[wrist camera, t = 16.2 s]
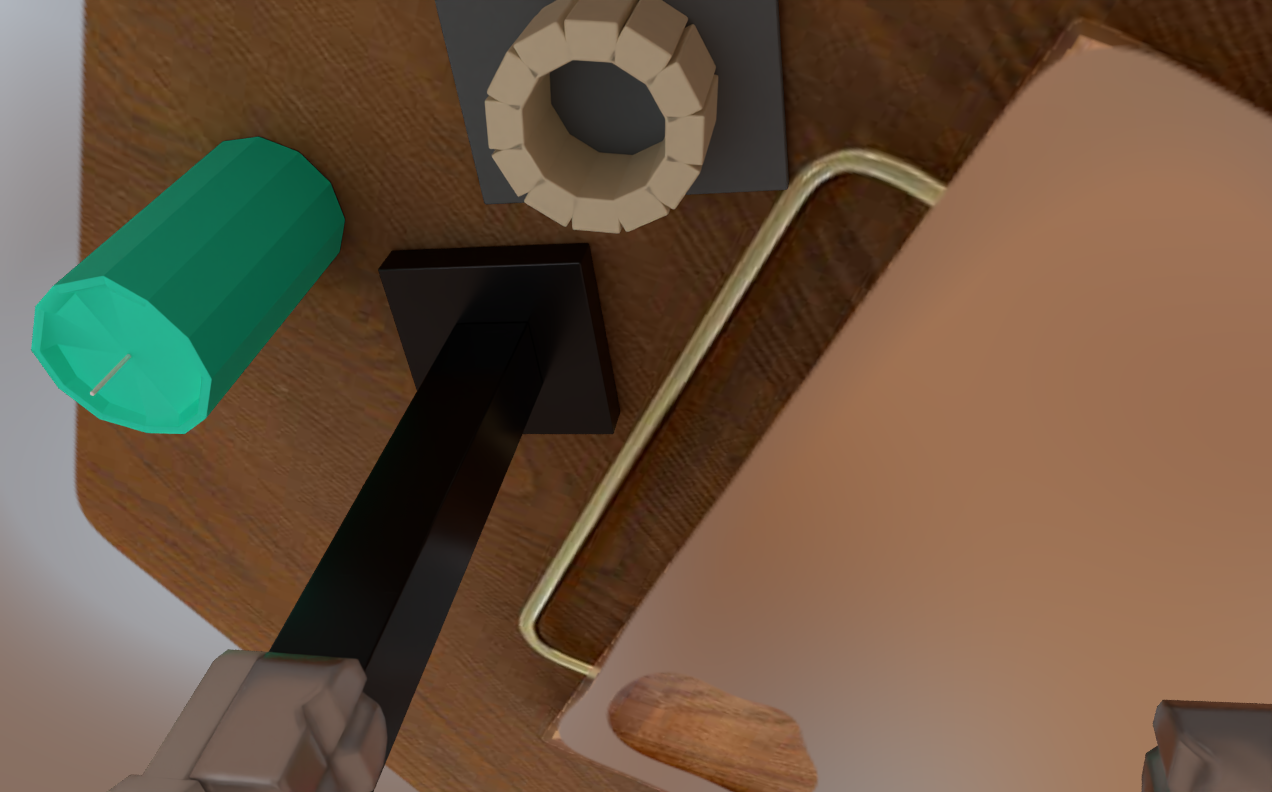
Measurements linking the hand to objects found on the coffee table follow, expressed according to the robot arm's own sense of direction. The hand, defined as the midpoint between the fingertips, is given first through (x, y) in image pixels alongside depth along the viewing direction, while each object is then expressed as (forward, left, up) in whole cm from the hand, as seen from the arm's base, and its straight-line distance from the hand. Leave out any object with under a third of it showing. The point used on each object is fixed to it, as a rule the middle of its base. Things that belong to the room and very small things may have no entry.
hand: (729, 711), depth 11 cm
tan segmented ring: (+3, -7, -26) cm, 28 cm away
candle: (+7, -21, -27) cm, 35 cm away
